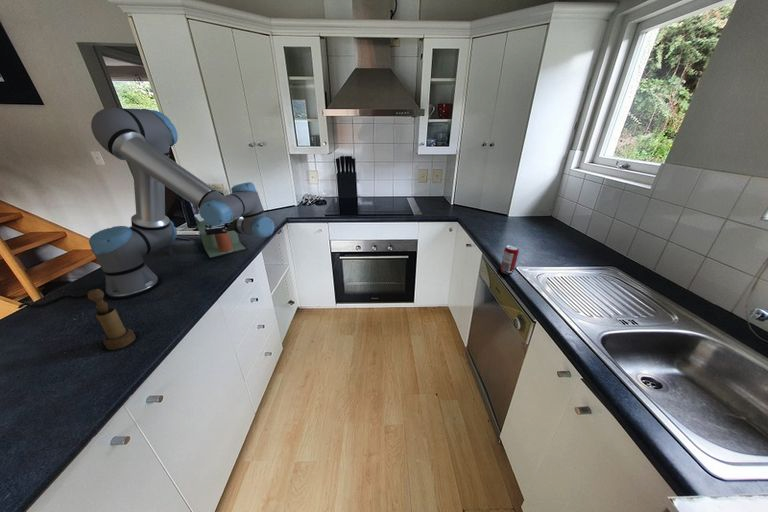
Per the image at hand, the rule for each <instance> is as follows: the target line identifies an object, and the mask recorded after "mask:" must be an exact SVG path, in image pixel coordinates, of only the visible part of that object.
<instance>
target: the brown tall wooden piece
mask: <svg viewBox="0 0 768 512" xmlns="http://www.w3.org/2000/svg"><path fill="white" fill-rule="evenodd" d="M87 292H88V294H87V295H86V296H87V298H88V300H90V301H92V302H95V308H96V309H97V310H98V311H96V312H95V317H96V319H97V320H98V322H99V324H100V325H101V327H102V329H103V331H104V333H105V335H106V336H105V337H104V339H103V340H102V341H103V344H104V346H105V349H107V350H109V351H110V350H111V351H115V350H120V349H122V348H126V347H127V346H129V345H131V344H132V343H133V342H134V341H136V338H137V336H136V334H135V333H134V330H133V329H131V328H125V325H124V324H123V322H122V319H121V317H120V315H119V314H118V312H117V310H116V307H113V306H109V305H108V302H107V301H105V300H104V296H105V293H104V291H103V290H99V288H93V289H91V290H90V291H87ZM108 306H109V307H108Z"/></svg>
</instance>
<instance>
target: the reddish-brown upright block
mask: <svg viewBox="0 0 768 512" xmlns="http://www.w3.org/2000/svg"><path fill="white" fill-rule="evenodd" d="M214 236H215V240H216V243H217V247H218V250H219V252H228V251H231V250H232V249H233V246H232V242H231V238H230V234H229V231H227V233H226V234H223V233H221V234H214Z"/></svg>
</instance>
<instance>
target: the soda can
mask: <svg viewBox="0 0 768 512" xmlns="http://www.w3.org/2000/svg"><path fill="white" fill-rule="evenodd" d="M503 250H504V251H503V255H502V258H501V264H500V269H499V270H500V271H501V273H502V274H505V275H509V274H508V272H505V271H512V270H514V271H515V268H516V264H517V260H518V257H519V254H520V253H519V252H520V249H519V247H518V246H517V245H515V244H514V245H513V244H507V245H506V246H505V248H504V249H503Z"/></svg>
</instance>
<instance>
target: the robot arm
mask: <svg viewBox="0 0 768 512" xmlns="http://www.w3.org/2000/svg"><path fill="white" fill-rule="evenodd" d="M90 126H91V127H90V128H91V132H92V134H93V137H94V138H95V140H96V141H97V143H98V144H99V145H100V146H101V147H102V148H103V149H104V150H105V151H107V153H109V154H110V155H112V156H113V157H115V158H117V159H119V160H121V161H128V162H129V163H131V165H132V173H133V190H134V202H135V203H134V204H135V205H134V206H135V214H133V215H132V216H131V218H130V223H131V226H127V225H116V226H112V227H107V228H104V229H102V230H101V229H100V230H99V231H97V232H95V233H93V234H92V235H91V236H90V237H89V239H88V244H89V246H90V251H91V252H92V253H93V255H94V257H95V258H96V261H97V262H98V265H99V266H100V268H101V270H102V272H103V274H104V277H105V286H103V287H99V288H98V289H99V290H102V291H103V290H105V293H106V294H107V297H108V298H111V299H117V300H118V299H119V300H121V299H127V298H132V297H136V296H139V295H142V294H144V293H147V292H149V291H151V290H152V289H154V288H156V287H157V285H158V284H159V282H160V281H159V278H158V276H157V275H156V274H155V273H154V272H153V271H152V270H151V268H150V267H148V266H147V264H146V263H145V260H144V257H145V256H147V255H149V254H152V253H153V252H156V251H159V250H161V249H163V248H166V247H167V246H169V245H171V244H172V243H174V242H175V241H176V239H177V237H178V230H177V227H176V226H175V224H174V222H173V221H172V220H170V218H169V217H168V216H167V215H166V202H165V201H166V198H165V197H166V195H165V194H166V193H165V191H166V190H165V188H168V189H169V190H171V191H172V192H174V193H175V194H177V195H178V196H180V197H181V198H183V199H184V200H186V201H187V202H188V203H190V204H191V205H193V206H195V208H199V209H200V210H199V212H200V215H201V217H202V218H203V219H204V221H205V222H206V223H207V224H209V225H205V227H206V229H204V230H205V232H206V234H207V235H213V234H221V233H223V234H226V233H227V231H235V232H237V234H238V235H239V234H240V235H245V236H250V237H256V238H268V237H270V236H272V234H273V233H274V231H275V228H276V227H275V222H274V221H273V220H272V219H271V217H268V216H267V215H266V212H265V210H264V207H263V204H262V201H261V198H260V196H259V192H258V191H257V189H256V186H255V184H254V183H253V182H251V181H249V182H248V181H247V182H242V183H238V184H234V185H231V187H230V191H231V193H229V194H226V195H223V194H222V193H221V192H219V191H218V190H216V189H215V188H213V187H212V186H210V185H209V184H208V183H206V182H205V181H203V180H202V179H200V178H199V177H197V176H196V175H195V174H194V173H192V172H190V171H189V170H188V169H186V168H185V167H183V166H181V165H180V164H178V163H177V162H176V161H175V160H173V159H172V158H170V148H171V147H173V146H174V145H177V142H178V140H179V134H178V131H177V128H176V126H175V124H174V123H173V122H172V121H171V119H170V118H169V117H168V116H167V115H165V114H164V113H163V112H161V111H158V110H155V109H154V110H153V109H147V108H124V107H105V108H102V109H100V110H98V111H97V112H95V114H94V115H93V116H92V119H91V122H90ZM199 212H198V213H199ZM231 220H233V221H231ZM230 221H231V222H230ZM222 224H223V225H222ZM228 224H229V225H228ZM211 225H212V226H211ZM88 292H89V291H86V292H84V293H80V294H74V293H65V294H62V295H59V296H57V297H54V298H52V299H50V300H48V301H45V302H41V303H40V302H39V303H34V304H32V302H24V303H21V304H19V305H18V307H17V309H22V308H23V307H25V306H29V307H42V306H46V305H49V304H52V303H54V302H57V301H59V300H60V299H63V298H66V297H73V298H82V297H85V296H87V294H88ZM30 304H32V305H30Z"/></svg>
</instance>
